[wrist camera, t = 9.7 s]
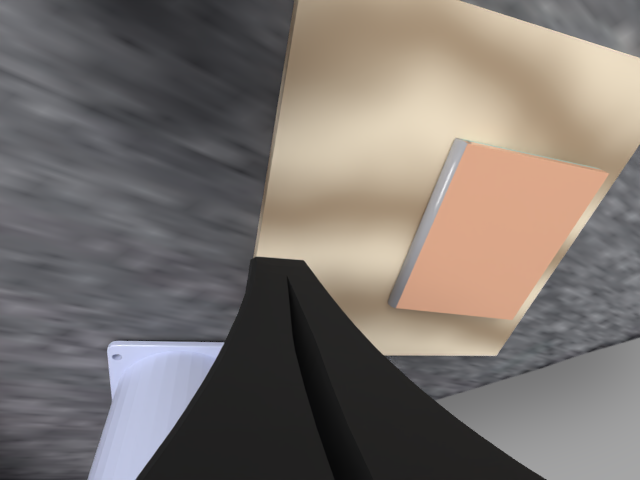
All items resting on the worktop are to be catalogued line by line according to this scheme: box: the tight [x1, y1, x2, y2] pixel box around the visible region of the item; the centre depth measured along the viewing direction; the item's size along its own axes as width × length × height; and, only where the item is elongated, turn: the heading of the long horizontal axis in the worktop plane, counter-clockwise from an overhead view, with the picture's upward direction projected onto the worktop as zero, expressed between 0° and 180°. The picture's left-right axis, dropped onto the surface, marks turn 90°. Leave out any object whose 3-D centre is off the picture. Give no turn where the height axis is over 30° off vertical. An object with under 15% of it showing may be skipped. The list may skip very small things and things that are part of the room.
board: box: [253, 0, 640, 356], centre depth 20 cm, size 20×19×1 cm
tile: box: [388, 138, 609, 320], centre depth 20 cm, size 10×8×1 cm
